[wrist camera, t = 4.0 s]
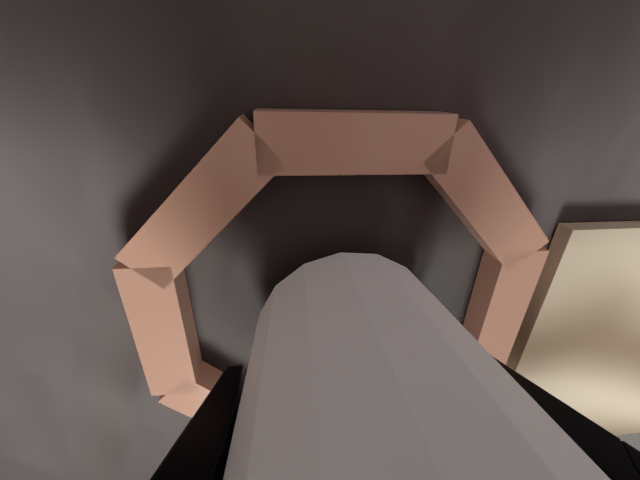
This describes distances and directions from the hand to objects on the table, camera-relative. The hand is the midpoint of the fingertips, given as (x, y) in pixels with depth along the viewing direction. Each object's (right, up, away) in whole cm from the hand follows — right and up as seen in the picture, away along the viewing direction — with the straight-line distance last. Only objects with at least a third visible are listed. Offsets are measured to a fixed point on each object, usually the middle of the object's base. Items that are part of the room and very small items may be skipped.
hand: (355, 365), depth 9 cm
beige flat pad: (+12, -1, +5) cm, 13 cm away
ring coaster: (0, +1, +2) cm, 3 cm away
